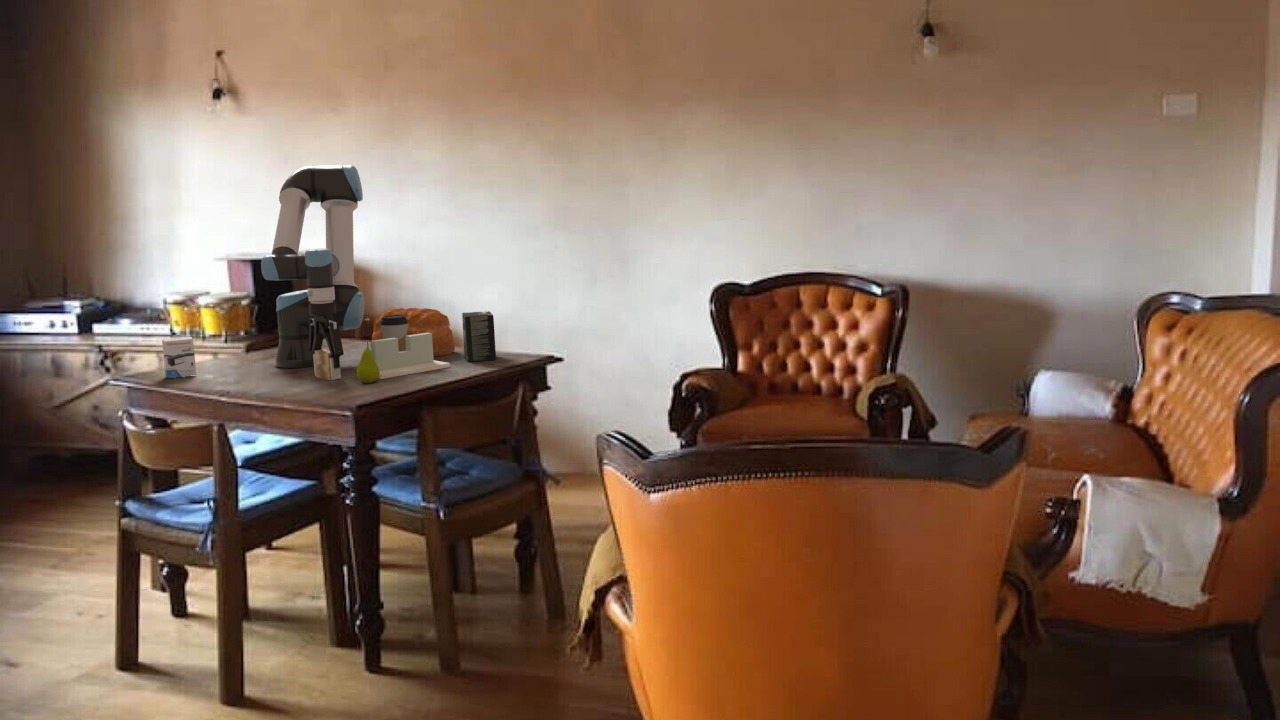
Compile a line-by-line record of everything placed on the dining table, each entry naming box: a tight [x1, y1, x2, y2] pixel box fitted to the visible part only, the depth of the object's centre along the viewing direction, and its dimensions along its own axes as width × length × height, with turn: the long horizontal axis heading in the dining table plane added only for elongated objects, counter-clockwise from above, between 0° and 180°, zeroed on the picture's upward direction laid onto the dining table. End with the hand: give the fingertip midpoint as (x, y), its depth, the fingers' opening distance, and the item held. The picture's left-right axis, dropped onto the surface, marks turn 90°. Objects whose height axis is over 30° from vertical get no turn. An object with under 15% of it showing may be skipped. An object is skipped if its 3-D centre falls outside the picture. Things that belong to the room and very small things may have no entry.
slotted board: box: [369, 333, 451, 380], centre depth 334 cm, size 14×24×10 cm, turn 134°
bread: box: [371, 307, 456, 358], centre depth 364 cm, size 14×26×16 cm, turn 71°
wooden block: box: [315, 348, 332, 381], centre depth 326 cm, size 8×3×8 cm, turn 44°
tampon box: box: [461, 311, 497, 363], centre depth 351 cm, size 11×9×15 cm
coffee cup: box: [381, 315, 408, 351], centre depth 346 cm, size 8×8×15 cm
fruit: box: [356, 340, 380, 384], centre depth 316 cm, size 6×6×12 cm
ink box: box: [161, 336, 197, 379], centre depth 334 cm, size 8×5×12 cm, turn 117°
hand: (327, 376), depth 326 cm, fingers open, 9 cm apart
